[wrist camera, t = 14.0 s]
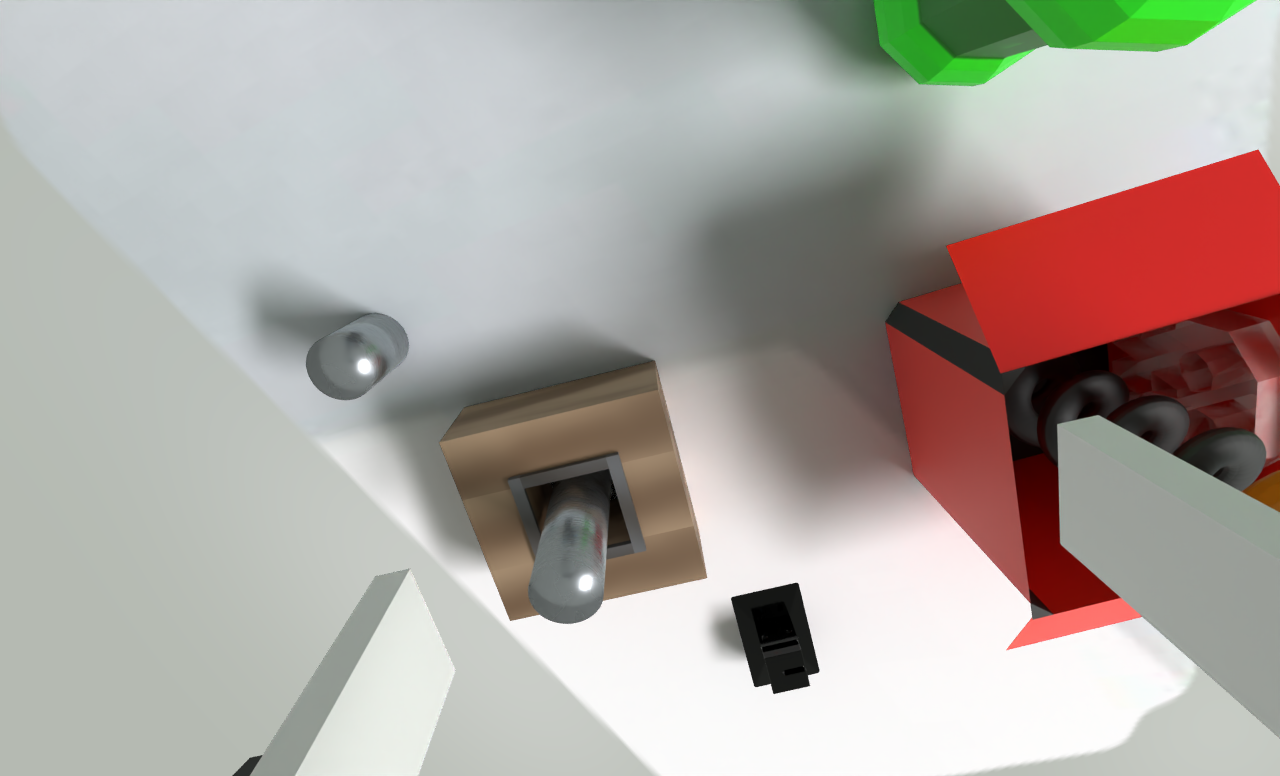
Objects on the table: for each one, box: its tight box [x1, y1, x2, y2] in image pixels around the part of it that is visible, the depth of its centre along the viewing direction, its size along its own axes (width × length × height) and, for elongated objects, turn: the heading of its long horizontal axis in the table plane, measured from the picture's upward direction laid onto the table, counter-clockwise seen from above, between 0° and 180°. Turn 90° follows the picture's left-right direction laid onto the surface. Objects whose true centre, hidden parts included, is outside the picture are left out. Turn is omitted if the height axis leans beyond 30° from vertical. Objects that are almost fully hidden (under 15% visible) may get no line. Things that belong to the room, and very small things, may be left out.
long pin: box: [528, 469, 612, 624], centre depth 39 cm, size 4×4×14 cm
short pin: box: [306, 313, 409, 400], centre depth 40 cm, size 4×4×6 cm
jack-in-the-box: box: [885, 150, 1280, 650], centre depth 30 cm, size 26×16×30 cm, turn 18°
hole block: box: [439, 361, 707, 621], centre depth 43 cm, size 14×14×6 cm
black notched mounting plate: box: [731, 583, 819, 694], centre depth 50 cm, size 12×7×5 cm, turn 15°
